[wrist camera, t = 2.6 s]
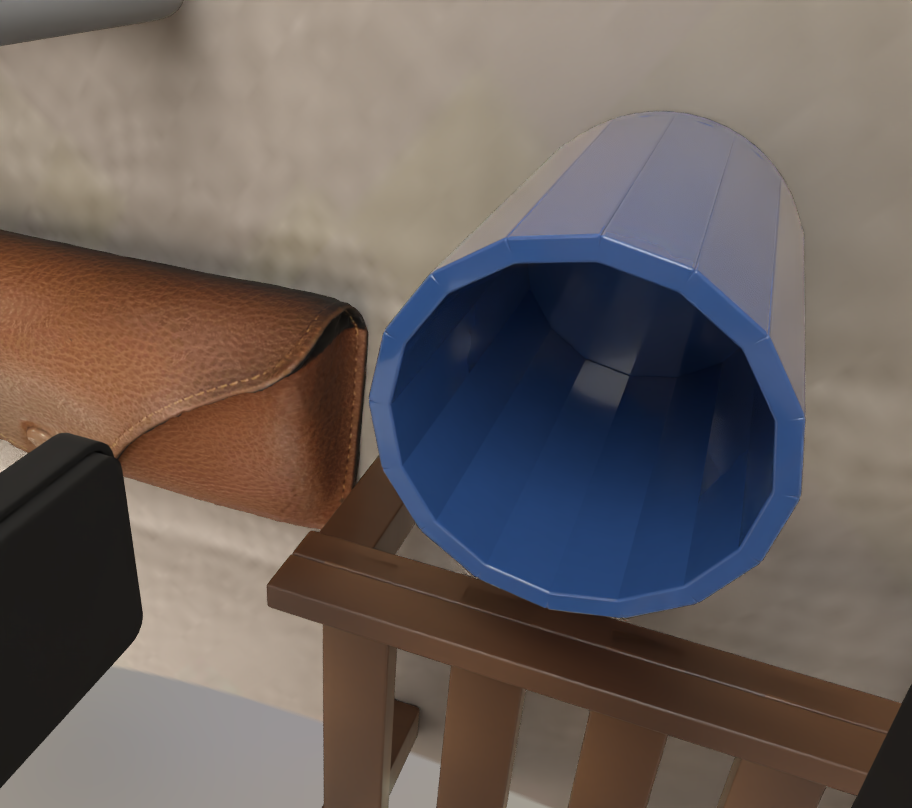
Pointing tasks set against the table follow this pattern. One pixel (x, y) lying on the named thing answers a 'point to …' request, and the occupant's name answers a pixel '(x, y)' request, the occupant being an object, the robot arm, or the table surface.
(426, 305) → the cup
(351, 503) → the rack
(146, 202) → the table surface
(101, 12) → the newton's cradle
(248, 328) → the sunglasses case
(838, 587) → the table surface
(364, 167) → the table surface
